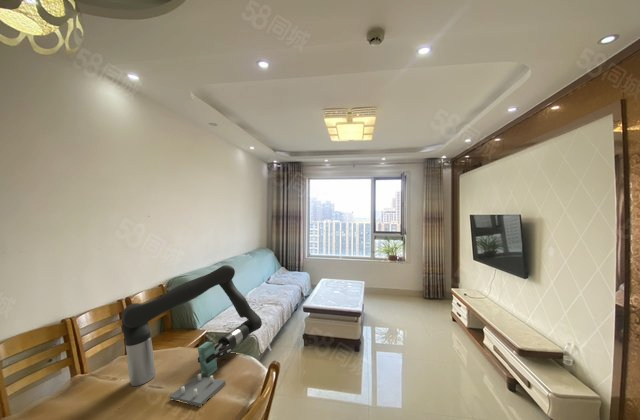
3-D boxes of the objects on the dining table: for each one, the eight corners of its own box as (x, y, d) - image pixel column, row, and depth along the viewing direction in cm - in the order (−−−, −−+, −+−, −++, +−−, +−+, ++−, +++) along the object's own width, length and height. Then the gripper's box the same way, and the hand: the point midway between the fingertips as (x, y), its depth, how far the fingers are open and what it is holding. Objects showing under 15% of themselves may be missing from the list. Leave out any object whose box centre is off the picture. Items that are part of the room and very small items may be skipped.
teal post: (201, 375, 109) (197, 347, 109) (210, 368, 113) (207, 341, 114) (208, 376, 107) (204, 348, 107) (217, 369, 112) (213, 342, 112)
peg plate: (170, 400, 95) (168, 389, 96) (196, 379, 107) (195, 369, 107) (200, 407, 89) (199, 396, 89) (225, 384, 100) (224, 374, 100)
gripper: (218, 331, 126) (189, 350, 111) (241, 333, 121) (213, 353, 105) (220, 346, 126) (191, 367, 111) (243, 349, 121) (215, 371, 105)
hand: (202, 360), depth 108 cm, fingers closed on teal post, 4 cm apart
